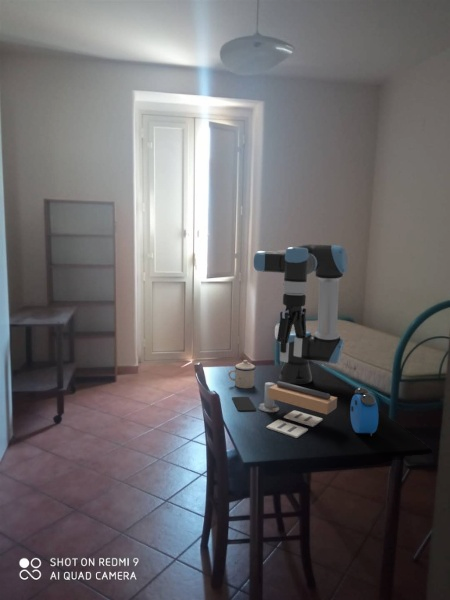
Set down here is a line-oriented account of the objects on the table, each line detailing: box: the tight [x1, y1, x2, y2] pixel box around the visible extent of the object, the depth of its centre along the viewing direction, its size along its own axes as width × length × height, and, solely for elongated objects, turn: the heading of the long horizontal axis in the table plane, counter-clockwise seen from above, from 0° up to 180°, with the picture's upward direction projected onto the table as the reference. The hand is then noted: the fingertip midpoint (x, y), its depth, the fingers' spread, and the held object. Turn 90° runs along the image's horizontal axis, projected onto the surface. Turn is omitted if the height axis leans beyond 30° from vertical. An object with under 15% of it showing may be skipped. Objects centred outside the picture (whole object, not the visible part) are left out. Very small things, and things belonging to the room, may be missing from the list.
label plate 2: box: [283, 409, 324, 427], centre depth 166 cm, size 8×12×1 cm, turn 52°
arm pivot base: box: [258, 402, 280, 414], centre depth 175 cm, size 8×8×1 cm
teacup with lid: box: [227, 359, 256, 389], centre depth 200 cm, size 12×9×12 cm
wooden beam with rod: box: [263, 380, 338, 415], centre depth 167 cm, size 28×8×11 cm, turn 52°
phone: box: [231, 396, 257, 413], centre depth 179 cm, size 7×1×15 cm
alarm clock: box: [349, 386, 379, 437], centre depth 156 cm, size 13×6×15 cm, turn 0°
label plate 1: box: [266, 419, 309, 439], centre depth 157 cm, size 8×12×1 cm, turn 52°
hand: (290, 358), depth 153 cm, fingers open, 9 cm apart
